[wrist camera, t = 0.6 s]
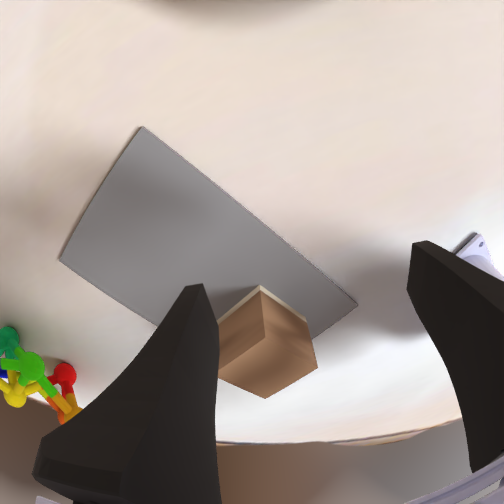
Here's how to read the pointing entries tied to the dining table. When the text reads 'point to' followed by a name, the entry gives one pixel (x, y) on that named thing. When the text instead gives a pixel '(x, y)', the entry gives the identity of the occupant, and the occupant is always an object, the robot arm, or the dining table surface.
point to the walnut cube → (264, 344)
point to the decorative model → (34, 378)
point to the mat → (188, 243)
